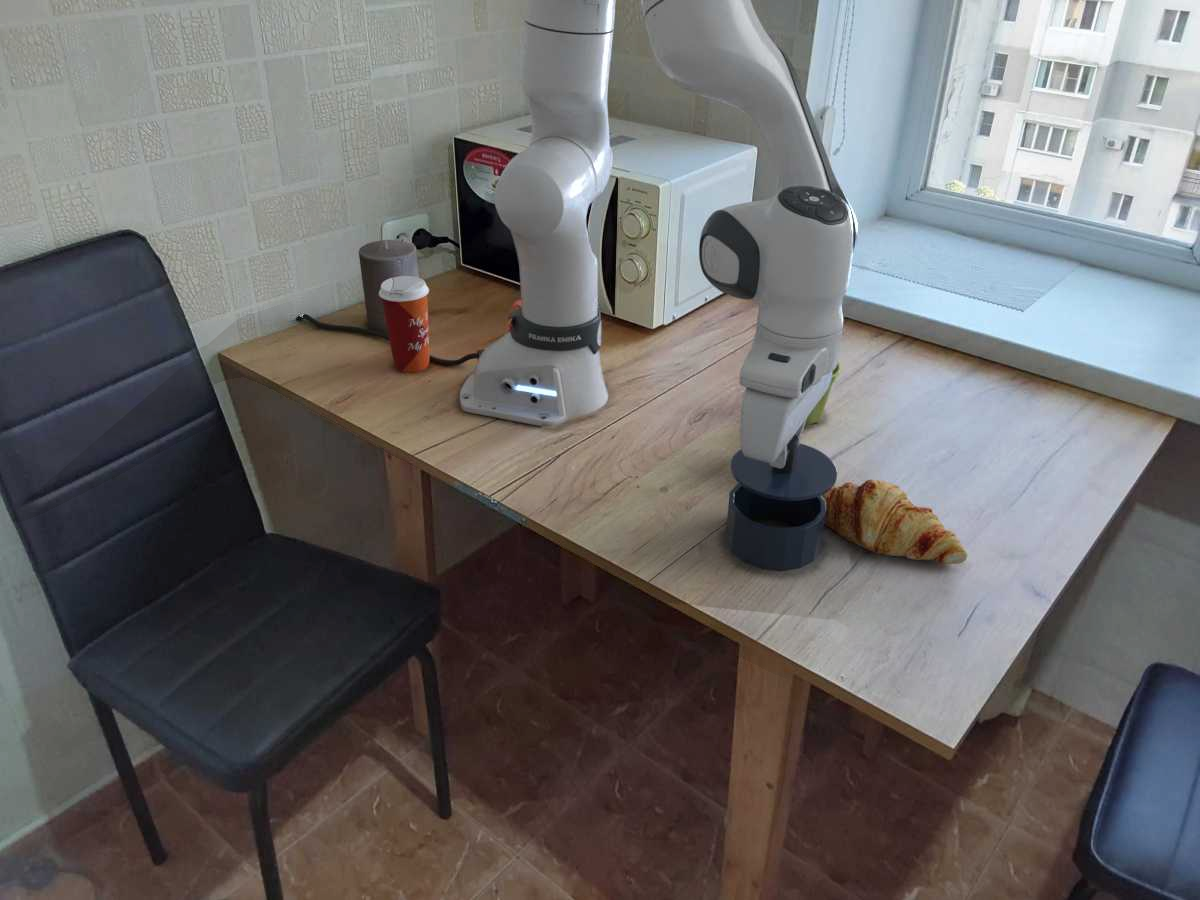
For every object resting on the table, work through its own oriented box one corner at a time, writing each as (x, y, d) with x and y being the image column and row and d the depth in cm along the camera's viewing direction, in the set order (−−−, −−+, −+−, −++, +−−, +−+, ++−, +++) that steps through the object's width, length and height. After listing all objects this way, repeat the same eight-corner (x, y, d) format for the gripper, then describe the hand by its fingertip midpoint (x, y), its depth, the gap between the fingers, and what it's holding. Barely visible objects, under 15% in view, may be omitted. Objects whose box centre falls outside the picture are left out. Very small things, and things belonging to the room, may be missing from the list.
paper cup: (427, 377, 152) (419, 294, 145) (381, 373, 153) (370, 291, 146) (442, 355, 159) (434, 275, 152) (397, 352, 160) (388, 272, 153)
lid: (728, 500, 106) (731, 461, 104) (732, 444, 116) (735, 407, 114) (838, 509, 105) (845, 470, 102) (833, 452, 115) (838, 415, 112)
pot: (723, 569, 112) (726, 525, 109) (727, 513, 121) (731, 471, 118) (820, 578, 110) (827, 534, 107) (817, 522, 120) (824, 479, 116)
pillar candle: (356, 324, 169) (344, 242, 161) (399, 307, 176) (390, 228, 168) (392, 340, 164) (382, 256, 156) (435, 322, 170) (427, 240, 162)
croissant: (965, 579, 116) (989, 517, 114) (948, 587, 107) (974, 520, 106) (805, 514, 126) (826, 457, 125) (778, 517, 118) (799, 455, 116)
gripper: (800, 305, 111) (788, 410, 118) (733, 377, 96) (724, 492, 103) (854, 316, 108) (838, 422, 116) (793, 392, 93) (780, 509, 100)
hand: (784, 456), depth 109 cm, fingers closed on lid, 2 cm apart
